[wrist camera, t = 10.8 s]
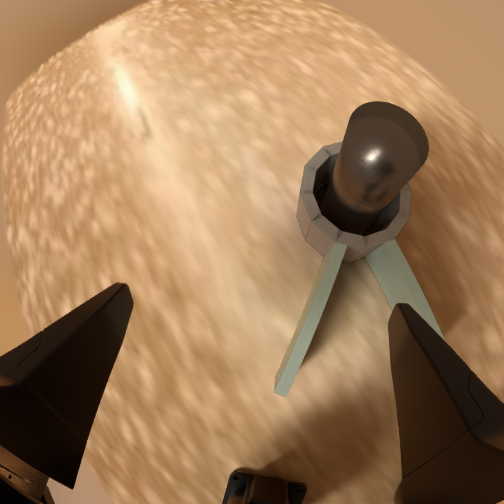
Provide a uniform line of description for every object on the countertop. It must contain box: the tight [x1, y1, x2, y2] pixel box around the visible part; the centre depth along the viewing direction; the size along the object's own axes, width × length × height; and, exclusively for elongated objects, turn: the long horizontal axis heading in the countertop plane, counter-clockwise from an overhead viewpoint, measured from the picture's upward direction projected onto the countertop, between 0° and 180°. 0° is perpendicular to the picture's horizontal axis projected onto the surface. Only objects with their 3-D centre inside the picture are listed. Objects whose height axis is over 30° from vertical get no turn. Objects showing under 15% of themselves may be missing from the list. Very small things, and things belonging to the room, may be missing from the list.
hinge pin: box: [320, 101, 429, 235], centre depth 18 cm, size 4×4×12 cm
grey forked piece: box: [274, 142, 445, 397], centre depth 20 cm, size 18×13×5 cm
